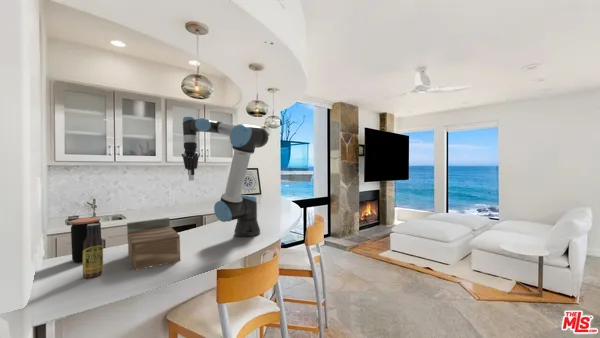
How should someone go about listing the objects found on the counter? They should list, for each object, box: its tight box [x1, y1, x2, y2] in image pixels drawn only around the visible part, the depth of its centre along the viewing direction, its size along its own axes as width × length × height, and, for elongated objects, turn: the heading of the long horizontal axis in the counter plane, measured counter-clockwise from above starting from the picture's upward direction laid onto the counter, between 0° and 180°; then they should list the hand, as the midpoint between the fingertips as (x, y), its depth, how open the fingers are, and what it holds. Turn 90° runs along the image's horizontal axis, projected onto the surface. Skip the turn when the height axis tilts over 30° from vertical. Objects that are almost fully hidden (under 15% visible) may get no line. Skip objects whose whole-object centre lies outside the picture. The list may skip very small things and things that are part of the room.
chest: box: [127, 236, 181, 271], centre depth 123 cm, size 22×18×10 cm
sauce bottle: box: [82, 224, 104, 279], centre depth 104 cm, size 6×6×20 cm
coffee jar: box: [70, 217, 102, 264], centre depth 123 cm, size 11×11×18 cm
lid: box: [126, 217, 181, 246], centre depth 124 cm, size 25×18×8 cm
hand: (191, 180), depth 168 cm, fingers closed
